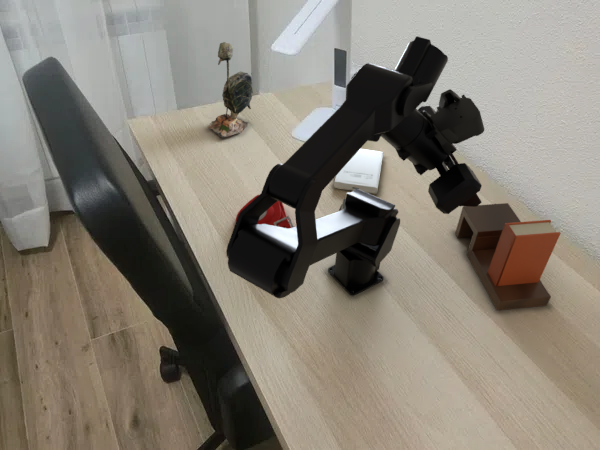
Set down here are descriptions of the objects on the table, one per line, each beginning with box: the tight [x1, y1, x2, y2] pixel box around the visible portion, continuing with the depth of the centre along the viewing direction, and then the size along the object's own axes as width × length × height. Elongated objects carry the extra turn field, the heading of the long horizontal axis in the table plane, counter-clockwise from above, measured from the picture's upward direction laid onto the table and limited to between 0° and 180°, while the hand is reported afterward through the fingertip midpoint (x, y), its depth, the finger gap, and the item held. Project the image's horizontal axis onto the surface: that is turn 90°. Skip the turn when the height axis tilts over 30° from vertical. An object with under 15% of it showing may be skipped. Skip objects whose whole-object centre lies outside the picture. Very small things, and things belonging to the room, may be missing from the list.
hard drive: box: [333, 148, 384, 195], centre depth 108 cm, size 2×8×12 cm
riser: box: [454, 202, 552, 311], centre depth 87 cm, size 8×18×6 cm, turn 9°
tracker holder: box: [235, 194, 295, 228], centre depth 94 cm, size 12×4×10 cm
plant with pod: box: [206, 41, 254, 138], centre depth 113 cm, size 8×11×20 cm
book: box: [488, 219, 562, 286], centre depth 81 cm, size 7×3×10 cm, turn 99°
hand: (466, 183), depth 83 cm, fingers open, 9 cm apart
